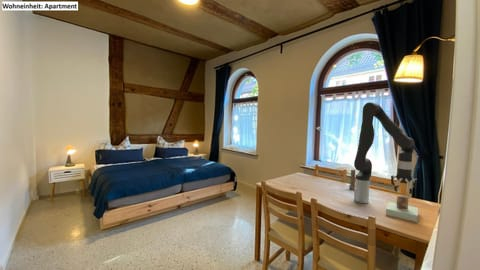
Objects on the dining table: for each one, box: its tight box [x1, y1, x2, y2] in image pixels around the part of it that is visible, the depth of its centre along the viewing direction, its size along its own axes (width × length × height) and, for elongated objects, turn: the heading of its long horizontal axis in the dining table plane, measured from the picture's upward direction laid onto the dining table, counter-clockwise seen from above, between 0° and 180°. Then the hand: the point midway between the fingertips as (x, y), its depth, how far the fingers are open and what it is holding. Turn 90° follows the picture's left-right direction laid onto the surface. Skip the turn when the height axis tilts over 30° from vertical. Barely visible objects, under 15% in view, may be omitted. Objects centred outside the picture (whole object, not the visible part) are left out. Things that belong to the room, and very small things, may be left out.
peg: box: [396, 194, 409, 210], centre depth 140 cm, size 6×6×12 cm
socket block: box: [385, 201, 419, 223], centre depth 140 cm, size 16×16×4 cm
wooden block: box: [348, 168, 356, 191], centre depth 191 cm, size 4×11×18 cm, turn 99°
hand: (402, 192), depth 139 cm, fingers open, 6 cm apart
